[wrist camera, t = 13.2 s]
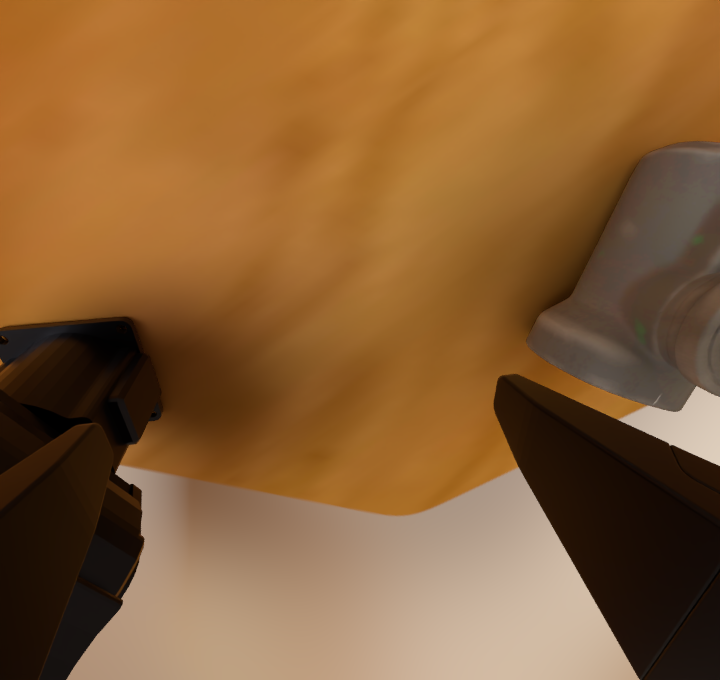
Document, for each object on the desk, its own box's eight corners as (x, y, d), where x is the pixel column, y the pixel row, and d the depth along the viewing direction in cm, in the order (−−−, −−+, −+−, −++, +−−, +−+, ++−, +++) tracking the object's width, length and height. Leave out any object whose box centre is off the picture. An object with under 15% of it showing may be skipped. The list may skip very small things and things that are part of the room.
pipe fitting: (601, 367, 27) (759, 465, 18) (498, 334, 25) (613, 424, 16) (706, 188, 23) (978, 189, 14) (596, 134, 22) (821, 95, 12)
